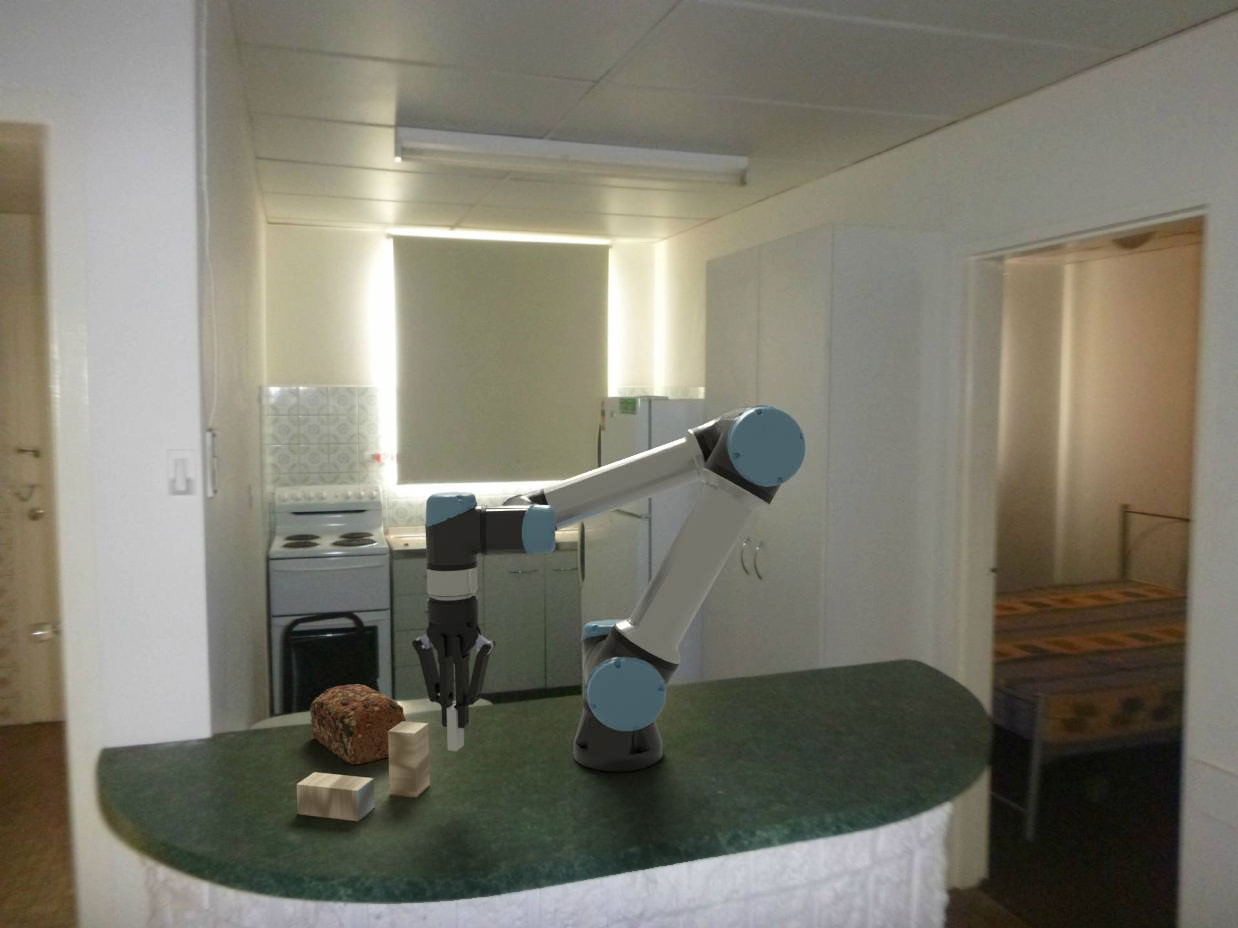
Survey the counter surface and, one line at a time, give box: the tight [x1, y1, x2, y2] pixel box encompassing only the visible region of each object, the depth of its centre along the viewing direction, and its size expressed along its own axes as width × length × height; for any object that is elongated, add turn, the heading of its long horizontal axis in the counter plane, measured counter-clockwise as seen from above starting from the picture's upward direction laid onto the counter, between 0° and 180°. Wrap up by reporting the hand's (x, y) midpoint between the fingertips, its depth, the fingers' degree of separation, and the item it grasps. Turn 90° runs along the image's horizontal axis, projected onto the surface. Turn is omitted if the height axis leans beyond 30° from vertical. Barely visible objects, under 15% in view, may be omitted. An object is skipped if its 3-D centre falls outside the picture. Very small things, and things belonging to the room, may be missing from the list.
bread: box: [309, 683, 407, 765], centre depth 158 cm, size 19×11×10 cm, turn 38°
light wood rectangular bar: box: [296, 771, 375, 822], centre depth 132 cm, size 4×4×10 cm
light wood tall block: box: [388, 721, 431, 799], centre depth 139 cm, size 4×4×10 cm
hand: (455, 747), depth 137 cm, fingers closed
